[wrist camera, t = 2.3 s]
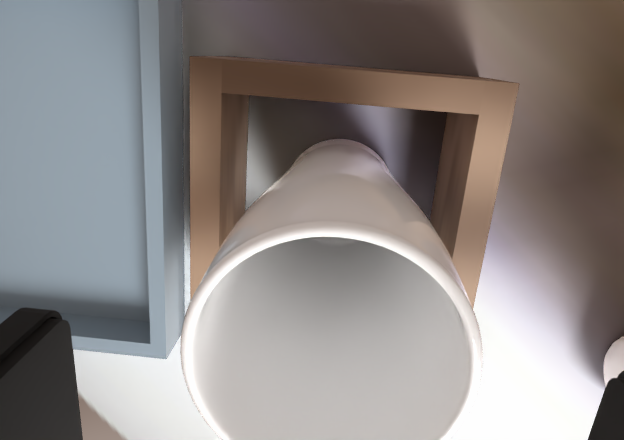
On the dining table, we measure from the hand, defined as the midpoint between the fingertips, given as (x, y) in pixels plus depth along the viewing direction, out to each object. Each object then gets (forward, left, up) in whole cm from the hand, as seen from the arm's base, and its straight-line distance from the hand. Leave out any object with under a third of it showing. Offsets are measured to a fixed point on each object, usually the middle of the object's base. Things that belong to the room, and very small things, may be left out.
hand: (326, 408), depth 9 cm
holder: (-1, 0, -17) cm, 17 cm away
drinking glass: (-1, 0, -17) cm, 17 cm away
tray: (-1, +16, -17) cm, 23 cm away
